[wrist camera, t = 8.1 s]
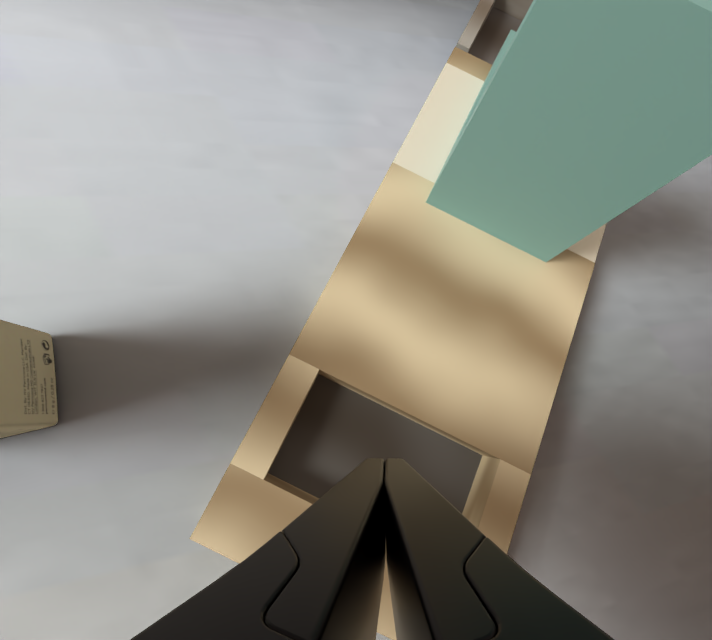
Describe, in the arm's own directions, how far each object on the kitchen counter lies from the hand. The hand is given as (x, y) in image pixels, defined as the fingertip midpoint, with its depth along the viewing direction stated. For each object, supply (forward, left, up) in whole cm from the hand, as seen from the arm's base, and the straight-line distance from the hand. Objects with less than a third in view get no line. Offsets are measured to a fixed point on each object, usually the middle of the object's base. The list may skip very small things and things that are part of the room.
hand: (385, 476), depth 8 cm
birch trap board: (+8, -10, -10) cm, 16 cm away
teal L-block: (+11, -14, -8) cm, 20 cm away
